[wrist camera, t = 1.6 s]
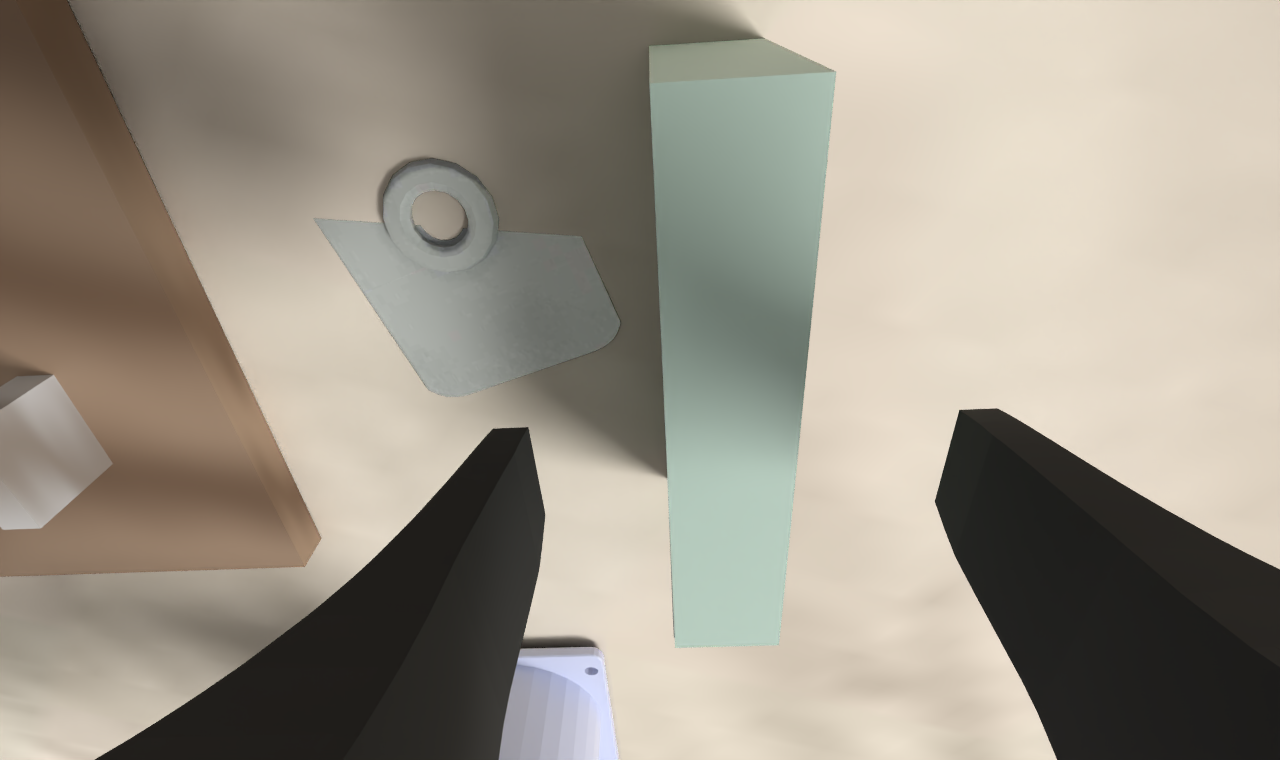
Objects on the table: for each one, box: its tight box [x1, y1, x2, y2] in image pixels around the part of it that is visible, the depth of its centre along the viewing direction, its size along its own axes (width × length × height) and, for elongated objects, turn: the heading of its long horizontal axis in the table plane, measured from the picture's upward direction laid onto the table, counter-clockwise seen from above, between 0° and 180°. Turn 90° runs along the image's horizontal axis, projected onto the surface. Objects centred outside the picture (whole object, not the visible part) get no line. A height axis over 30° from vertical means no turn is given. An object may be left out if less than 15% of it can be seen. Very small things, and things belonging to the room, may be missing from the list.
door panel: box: [649, 38, 836, 648], centre depth 14 cm, size 12×2×6 cm, turn 3°
